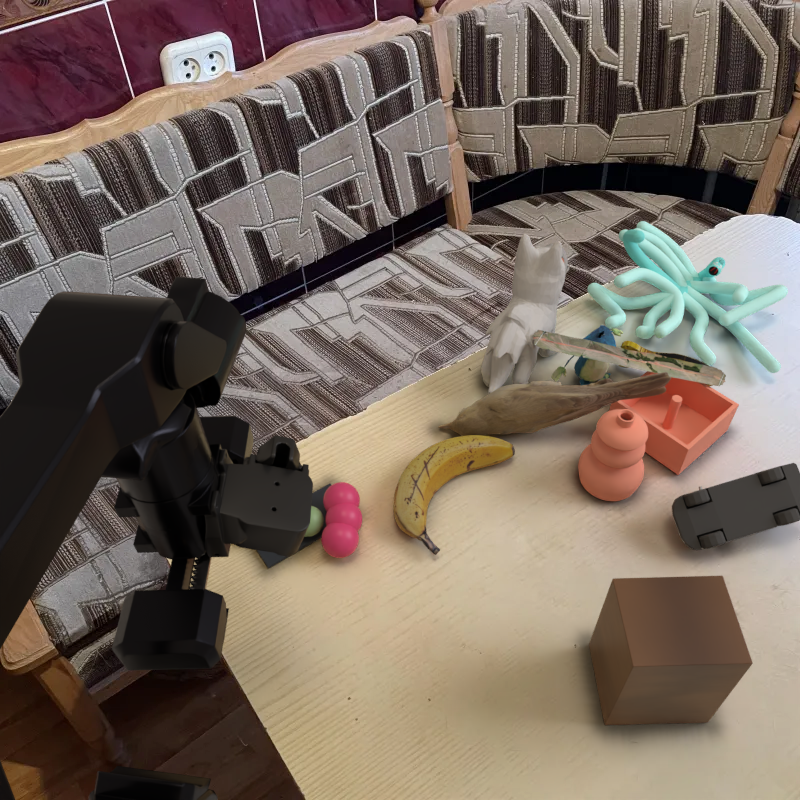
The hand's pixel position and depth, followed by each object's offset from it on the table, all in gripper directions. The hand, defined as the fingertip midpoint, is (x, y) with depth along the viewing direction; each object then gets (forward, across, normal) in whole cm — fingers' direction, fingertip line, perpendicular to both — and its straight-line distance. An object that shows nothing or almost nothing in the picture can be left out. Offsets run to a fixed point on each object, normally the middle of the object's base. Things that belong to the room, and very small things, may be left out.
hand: (216, 590), depth 58 cm
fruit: (+12, +18, -20) cm, 29 cm away
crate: (+12, -3, -35) cm, 37 cm away
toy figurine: (+12, +33, -37) cm, 51 cm away
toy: (+12, +36, -29) cm, 48 cm away
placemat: (+12, +14, -4) cm, 19 cm away
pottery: (+12, +22, -40) cm, 47 cm away
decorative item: (+12, +33, -45) cm, 57 cm away
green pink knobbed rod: (+12, +13, -3) cm, 18 cm away
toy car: (+7, +11, -46) cm, 48 cm away
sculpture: (+8, +28, -30) cm, 42 cm away
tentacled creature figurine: (+7, +36, -44) cm, 58 cm away
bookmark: (+6, +30, -39) cm, 49 cm away
